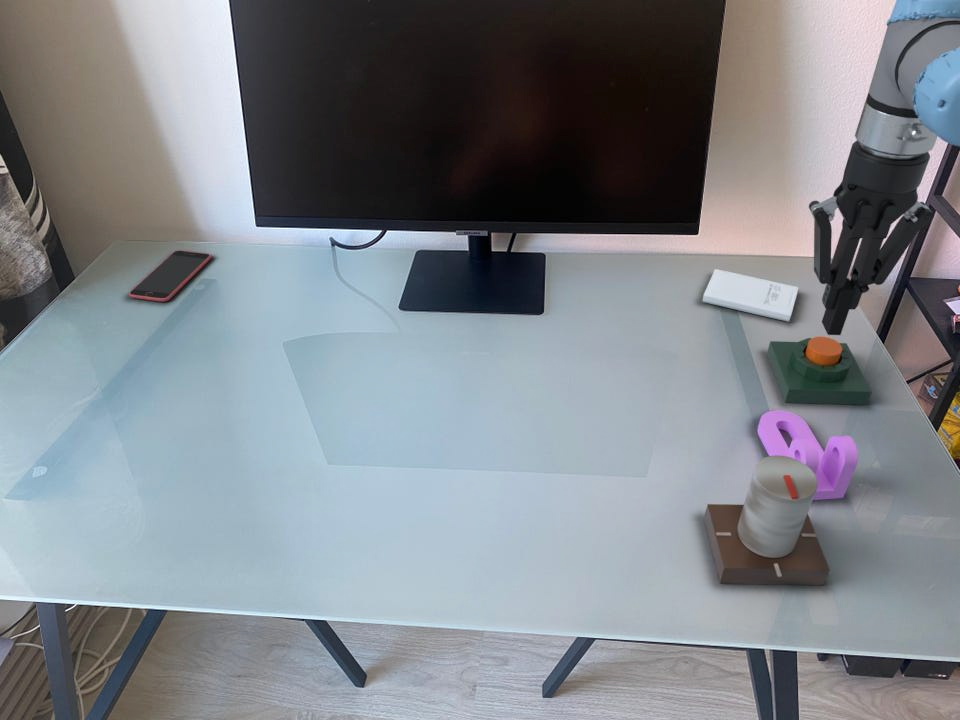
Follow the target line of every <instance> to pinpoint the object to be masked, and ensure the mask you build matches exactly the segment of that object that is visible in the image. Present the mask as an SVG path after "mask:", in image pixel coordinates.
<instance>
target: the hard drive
mask: <svg viewBox="0 0 960 720" xmlns="http://www.w3.org/2000/svg"><path fill="white" fill-rule="evenodd" d="M799 290H800V287H799V286H795V285H790V284H786V283H781V282H777V281H773V280H768V279H763V278H759V277H755V276H750V275H745V274H741V273H736V272H731V271H727V270H722V269H718V268H715V269H714V271H713V273H712V275H711V277H710V279H709V282H708V284H707V286H706V288H705V289H704V292H703V295H702V303H705V304H710V305H714V306H718V307H723V308H728V309H732V310H735V311H741V312H745V313H747V314H748V313H749V314H752V315H756V316H762V317H765V318H770V319H775V320H779V321H784V322H788V323H790V321H791V317H792V314H793V311H794V307H795V303H796V300H797V296H798V292H799Z"/></svg>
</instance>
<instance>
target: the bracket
mask: <svg viewBox="0 0 960 720" xmlns="http://www.w3.org/2000/svg"><path fill="white" fill-rule="evenodd" d="M780 430H783V431H785V432H786V433H787V434H788V435H789V436H790V438H791V442H790V445H789V446H788V443H786V441H785V438H784V437H783V435H782V433H781V431H780ZM756 431H757V435H758V437H759V440H760V441H761V443H762V445H763V447H764V449H765V451H766V453H767V454H768V455H767V456H774V455H780V456H787V457H791V458H794V459H796V460H798V461H800V462H802V463H804V464H805V465H806V466H808V467H809V468H810V469H811V470H812V471H813V473H814V474H815V476H816V478H817V482H818V486H817V490H816V493H815V495H814V498H813V500H812V501H820V500H834V499H835V500H837V499H844V497H845V494H846V492H847V489H848V487H849V485H850V483H851V480H852V477H853V476H854V473H855V471H856V468H857V466H858V462H859V451H858V447H857V444H856V442H855V440H854V438H852V436H850V435H847V434H846V435H845V434H844V435H834V436H833V435H832V436H831V437H830V438H829V439H828V441H827V444H826V447H825V449H824V450H823V448H822V446H821V444H820V443H819V441H818V440H817V438H816V436H815V435H814V433H813V431H812V430H811V428H810V427H809V425H808V423H807V422H806V421H805V420H804V419H803V418H802V417H801V416H799V415H797V414H795V413H793V412H791V411H787V410H781V409H780V410H779V409H775V410H769V411H766V412H765V413H763V414H762V415H761V417H760V419H759V422H758V425H757V429H756Z"/></svg>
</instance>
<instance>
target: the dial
mask: <svg viewBox="0 0 960 720" xmlns="http://www.w3.org/2000/svg"><path fill="white" fill-rule="evenodd" d="M817 486H818V482H817V478H816V476H815V474H814V473H813V471H812V470H811V469H810V468H809V467H808V466H806V465H805V464H804V463H802V462H800V461H798V460H796V459H794V458H791V457H787V456H780V455H774V456H769V455H767V456H766V457H763V458H761V459H760V460H759V461H757V463H756V464H755V466H754V469H753V473H752V476H751V479H750V483H749V486H748V489H747V493H746V496H745V499H744V502H743V505H744V506H743V509H742V513H741V516H740V519H739V523H738V526H737V532H738V536H739V538H740V540H741V541H742V543H743V544H744V545H745V546H746V547H747V548H748V549H749V550H751V551H752V552H754V553H756V554H758V555H761V556H764V557H769V558H779V557H783V556H786V555H788V554H789V553H791V552H792V551H793V549H794V547H795V545H796V542H797V540H798V537H799V535H800V532H801V529H802V527H803V524H804V521H805V519H806V516H807V514H808V515H809V511H810V509H811V505H812V504H813V501H814V500H813V498H814V495H815V493H816V490H817Z"/></svg>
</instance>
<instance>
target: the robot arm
mask: <svg viewBox="0 0 960 720" xmlns="http://www.w3.org/2000/svg"><path fill="white" fill-rule="evenodd" d="M885 25H886V30H885V34H884V37H883V40H882V44H881V47H880V50H879V54H878V58H877V61H876V64H875V68H874V72H873V75H872V79H871V82H870V85H869V89H868V93H867V95H866V99H865V101H864V105H863V108H862V111H861V114H860V118H859V121H858V124H857V126H856V127H857V128H856V131H855V132H854V133H855V134H854V137H855V139H856V140H855V141H854V142H853V143H852V144H851V148H850V151H849V153H848V157H847V161H846V164H845V167H844V170H843V176H842V180H841V182H840V184H839V185H838V186H837V187H836V189H834V191H833V195H832V196H831V197H829V198H827V199H825V200H823V201H818V200H811V202H810V203H809V204H808V209H809V211H810V213H811V215H812V217H813V272H814V274H815V276H816V278H817V279H818V281H819V283H820V284H821V285H825V287H824V291H823V293H822V298H821V302H822V305H823V306H824V308H825V310H824V313H823V316H822V319H821V323H822V326H823V327H824V330H825V333H826V334H827V336H842V335H841V334H842V333H843V330H844V326H845V324H846V321H847V317H848V315H849V311H850V310H855V311H856V309H857V308H858V306H859V304H860V302H861V298H862V295H863V294H865V293H867V292H869V290H870V287H869V286H870V285H876V286H880V285H881V286H882V284H884V283H885V282H886V280H887V279H888V277H889V276H890V274H891V273H892V271H893V270H894V268H895V267H896V265H897V264H898V262H899V261H900V259H901V258H902V256H903V255H904V253H905V252H906V251H907V249H908V248H909V246H910V245H911V243H912V242H913V240H914V239H915V237H916V235H917V234H918V232H920V231H921V230H922V229H924V227H926V226H927V225H928V224H929V223H930V222H931V221H933V219H934V217H935V214H934V212H933V211H932V210H931V209H930V208H929V206H928V205H927V204H926V203H925V202H923V201H919V200H918V199H919V195H918V188H919V187H920V185H921V183H922V180H923V177H924V175H925V173H926V171H927V167H928V165H929V161H930V160H931V155H930V153H929V152H930V151H932V150H933V149H934V147H935V144H936V142H937V139H938V138H939V139H941V140H942V141H943V142H945V143H947V144H949V145H952V146H956V147H960V0H896V1H895V3H894V6H893V8H892V12H891V14H890V16H889V18H888V20H887V21H886V24H885ZM837 209H838V211H839V213H840V214H841V216H842V221H841V227H842V228H841V230H840V235H839V237H838V241H837V244H836V247H835V250H834V253H833V256H832V238H833V237H832V235H833V233H832V232H833V231H832V230H833V229H832V224H831V222H832V221H833V220H834V218H835V212H836V210H837ZM897 220H898V221H897ZM896 221H897V222H896ZM895 222H896V225H895V226H894V228H893V229H892V230H891V232H890V229H891V226H892V224H893V223H895ZM889 233H890V234H889ZM885 239H886V240H885ZM860 240H861V241H860ZM884 240H885V241H884ZM883 242H884V243H883ZM859 243H860V244H859ZM856 252H857V253H856ZM855 256H856V257H855ZM854 258H855V259H854ZM852 264H853V265H852ZM850 270H851V271H850ZM849 273H850V274H849ZM848 276H850V278H849V277H848Z"/></svg>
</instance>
